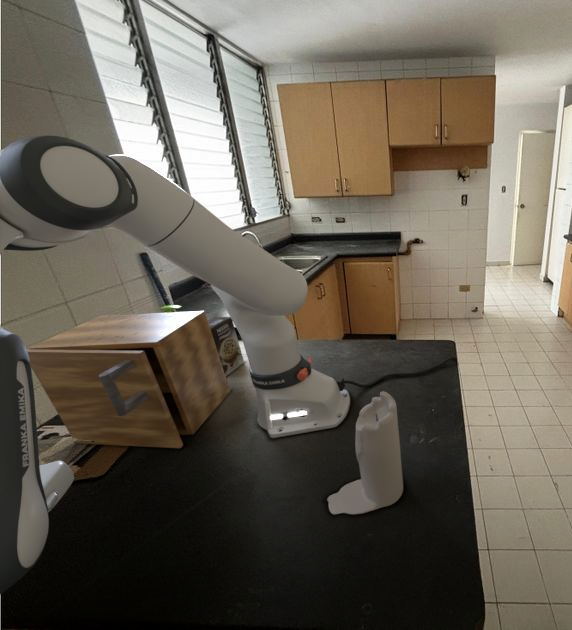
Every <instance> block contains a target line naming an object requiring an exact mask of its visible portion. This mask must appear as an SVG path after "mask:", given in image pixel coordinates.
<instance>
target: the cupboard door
mask: <svg viewBox="0 0 572 630" xmlns="http://www.w3.org/2000/svg"><path fill="white" fill-rule="evenodd" d="M26 349H27V348H26ZM27 352H28V355H29V359H30V364H31V371H32V372H33V373H34V375H35V376H36V378H37V380H38V381H39V383H40V385H41V387H42V389H43V391H44V392H45V394H46V395H47V397H48V399H49V400H50V402H51V404H52V406H53V407H54V409H55V411H56V413H57V414H58V417H59V418H60V420H61V421H62V423H63V425H64V427H65V428H66V430H67V432H68V433H69V435H70V437H71V438H72V439H73V438H76V439H83V440H91V441H74V440H73V442H74V444H81V445H99V446H100V445H104V446H121V447H122V446H124V447H142V448H143V447H145V448H164V449H165V448H166V449H181V448H183V446H184V443H183V440H182V438H181V435H179V433H178V431H177V428H176V426H175V424H174V421H173V419H172V416H171V414H170V412H169V409H168V407H167V405H166V402H165V400H164V397H163V395H162V393H161V390H160V388H159V385H158V383H157V381H156V378H155V376H154V373H153V371H152V369H151V366H150V364H149V361H148V359H147V357H146V354H145V352H144V351H113V350H34V349H29V348H28V349H27ZM92 441H94V442H92Z"/></svg>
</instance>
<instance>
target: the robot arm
mask: <svg viewBox="0 0 572 630" xmlns="http://www.w3.org/2000/svg"><path fill="white" fill-rule="evenodd" d="M107 226H108V227H112V228H115V229H117V230H119V231H121V232H123V233H126V234H127V235H128V236H129V237H131V238H133V239H134V240H136V241H137V242H139V243H140V244H142V245H143V246H144V247H147V248H148V249H150V250H151V251H153V252H155V253H156V254H158V255H159V256H161V257H162V258H164V259H166V260H167V261H169V262H171V263H172V264H174V265H175V266H177V267H178V268H180V269H181V270H183V271H185V272H187V273H188V274H189V275H191V276H193V277H195V278H197V279H200V280H201V281H203V282H205V283H206V284H209V285H210V287H211V289H212V290H213V291H214V293H215V294H216V295H217V296H218V297H219V299H220V300H221V302H222V304H223V306H224V307H225V309H226V311H227V314H228V315H229V317H231V319H232V321H233V325H234V327H235V329H236V330H237V332H238V334H239V336H240V338H241V341H242V343H243V347H244V350H245V354H246V357H247V360H248V364H249V369H248V370H249V371H248V372H249V374H250V379H251V382H252V385H253V387H254V388H255V393H256V399H257V418H256V420H257V423H258V425H259V427H261V428H262V429H264V430H266V431H267V434H268V436H269V437H270V438H271V439H277V438H281V437H282V438H283V437H287V436H294V435H300V434H304V433H305V434H306V433H311V432H316V431H322V430H327V429H328V430H329V429H333V428H336V427H338V426H339V425H341V423H342V422H343V421H344V420H345V418H346V417H347V415H348V413H349V411H350V406H351V396H350V393H349V391H348V390H347V389H345V387H346V384H350V385H353V386H356V387H359V388H368V387H372V386H374V385H376V384H377V383H379V382H381V381H382V380H384V379H386V378H390V377H394V376H395V377H397V376H415V375H421V374H424V373H427V372H430V371H432V370H434V369H436V368H439V367H442V366H443V365H444V364H446V363H447V362H449V361H450V360H452V361H453V360H454V361H457V358H456V357H454V356H450V357H448V358H447V357H446V358H445V359H444V360H443V361H441V362H440V363H438V364H435V365H433V366H430V367H428V368H426V369H422V370H418V371H414V372H394V373H388V374H385V375H383V376H380V377H379V378H377V379H376V380H374V381H372V382H370V383H366V384H364V383H358V382H357V381H356V382H355V381H353V380H345V377H335V376H329V375H327V374H325V373H322V372H321V371H318V370H316V369H314V368H312V367H311V364H312V363H313V362H312V357H311V356H310V357H309V358H308V360H307V359H305V358H304V356H303V355H302V354H301V352H300V347H299V343H298V342H299V341H298V338H297V332H296V329H295V326H294V325H293V323H292V322H291V321H290V320H289V319H288V318H287V316H290V315H293V314H295V313H297V312H299V310H300V309H302V308H303V306H304V305H305V304H306V301H307V298H308V293H309V287H308V281H307V280H306V277H305V276H304V274H303V273H302V272H301V271H298V270H297V269H295V268H294V267H292V266H290V265H288V264H286V263H284V262H283V261H281V260H280V259H278V258H277V257H275V256H274V255H273V254H272V253H270V252H268V251H266V249H264V248H262V247H260V246H259V245H257V244H256V243H254V242H253V241H251V240H250V239H248V238H247V237H244V236H243V235H241V234H240V233H238V232H237V231H235V230H234V229H233V228H231V227H230V226H229V225H227V224H226V223H225V222H223V221H222V220H221V219H220V218H219V217H217V216H216V215H215V214H214V213H213V212H211V211H210V210H208V209H207V208H206V206H204V205H203V204H201V202H199V201H198V200H197V199H195V198H194V197H193V196H192V195H190V194H189V193H188V192H187V191H185V190H184V189H183V188H181V187H180V186H179V185H177V184H176V183H175V182H173V181H172V180H171V179H169V178H168V177H166V176H165V175H163V174H161V173H160V172H159V171H157V170H155V169H154V168H152V167H151V166H149V165H147V164H145V163H144V162H143V161H141V160H139V159H137V158H135V157H133V156H130V155H126V154H111V155H107V154H104V153H103V152H101V151H99V150H98V149H96V148H94V147H92V146H90V145H88V144H85V143H83V142H80V141H77V140H76V139H75V140H74V139H72V138H69V137H65V136H60V135H51V134H49V135H47V134H46V135H44V134H43V135H34V136H28V137H24V138H21V139H16V140H14V141H13V142H11V143H9V144H7V145H6V147H4V148H3V149H0V256H1V255H2V253H3V251H20V252H21V251H22V252H23V251H24V252H25V251H26V252H32V251H33V252H34V251H44V250H48V249H49V250H50V249H52V248H55V247H58V246H61V245H66V244H69V243H73V242H76V241H79V240H82V239H83V238H85V237H86V236H89V235H90V234H91V233H92V232H95V230H98V229H101V228H102V229H103V228H104V227H107ZM32 372H33V370H32V368H31V364H30V359H29V355H28V352H27V347H26V345H25V343H24V340H23V339H22V338H21V337H20V336H19V335H18V334H16V333H13V332H11V331H9V330H6V329H4V328H3V327H2V325H1V324H0V595H2V594H3V593H5V592H6V591H7V590H9V589H10V588H12V586H14V585H15V584H16V583H17V582H19V581H20V580H21V579H23V577H24V576H25V575H27V573H29V571H31V570H32V569H33V568H34V567H35V565H36V564H37V563H38V562H39V560H40V558H41V556H42V554H43V551H44V550H45V549H44V548H45V545H46V542H47V539H48V535H49V528H50V519H49V512H51V511H52V509H54V508H55V506H56V505H57V504H58V503H59V502H60V500H61V499H62V498H63V497H64V496H65V494H66V493H67V491H68V490H69V488H70V487H71V486H72V484H73V482H74V480H75V474H74V472H73V471H72V468H71V467H70V466H69V465H68V463H66V462H64V461H63V460H55V461H52V462H48V463H45V464H41V465H40V455H39V440H38V439H39V438H38V426H37V414H36V413H37V411H36V399H35V398H36V397H35V389H34V388H35V387H34V380H33V379H34V378H33V373H32Z"/></svg>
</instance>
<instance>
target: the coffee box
mask: <svg viewBox="0 0 572 630" xmlns="http://www.w3.org/2000/svg"><path fill="white" fill-rule="evenodd" d="M207 320H208V323H209V326H210V329H211V333H212V336H213V339H214V342H215V345H216V348H217V351H218V354H219V358H220V361H221V364H222V367H223V370H224V373H225V376H226V377H227V376H229V375H230V374H231V373H233V372H234V371H235V370H236V369H239V367H240V366H242V365H243V364H244V363H245V360H244V357H243V353H242V350H241V346H240V343H239V339H238V336H237V332H236V327H235V325H234V323H233V321H232V319H231V317H230V316H214V317H212V318H210V319H207Z"/></svg>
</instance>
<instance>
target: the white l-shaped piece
mask: <svg viewBox="0 0 572 630" xmlns="http://www.w3.org/2000/svg"><path fill="white" fill-rule="evenodd" d="M354 440H355V444H354V445H355V455H356V461H357V462H358V466H359V474H360V479H356V480H354V481H352V482H349V483H346V484H345V485H343V486H342V487H341V488H340V489H339V490H338V492H336V493H332V494H331V495H329V496H328V497H327V499H326V501H327V502H328V511H329V512H330V513H331V514H332V515H339V514H347V515H361V514H362V515H363V514H366V513H369V512H373V511H375V510H378V509H381V508H384V507H385V508H386V507H389V506H392V505H393V504H395V503H396V502H398V501H399V499H400V498H402V497H401V496H402V495H403V492H404V477H403V469H402V468H403V467H402V456H401V455H402V453H401V443H400V442H401V441H400V431H399V421H398V408H397V402H396V400H395V399H394V397H393V396H392V395H391V394H390V393H388V392H386V391H380V393H379V396H374V397H372V398H371V402H370V403H368V404H366V405H364V406H363V407H362V408H361V409H360V411H359V414H358V417H357V420H356V422H355V439H354Z"/></svg>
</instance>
